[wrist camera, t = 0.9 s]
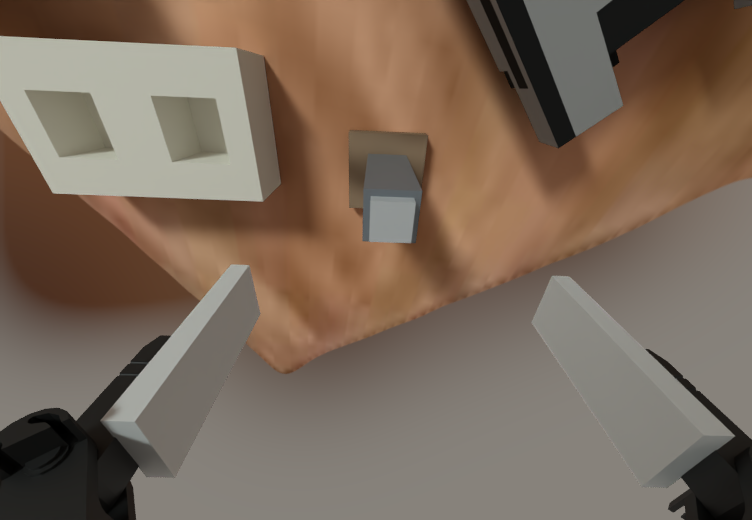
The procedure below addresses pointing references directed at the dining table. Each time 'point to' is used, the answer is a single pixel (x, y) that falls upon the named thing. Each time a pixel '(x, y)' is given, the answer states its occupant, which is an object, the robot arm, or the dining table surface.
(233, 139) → the socket block
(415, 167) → the plate
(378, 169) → the plug
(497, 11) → the office tray
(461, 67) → the dining table surface
